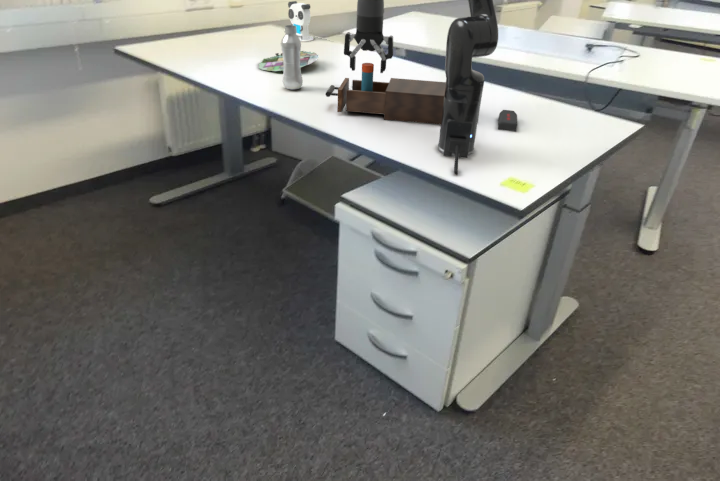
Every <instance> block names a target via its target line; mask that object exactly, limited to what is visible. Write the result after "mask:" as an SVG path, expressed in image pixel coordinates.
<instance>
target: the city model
mask: <svg viewBox="0 0 720 481" xmlns="http://www.w3.org/2000/svg"><path fill="white" fill-rule="evenodd" d="M318 59H319V54H318V53H317V52H316V51H305V50H301V52H300V68H301V69H302V68H303V67H306V66H308V65H312V64H313V63H314V62H317V60H318ZM283 61H284V60H283V54H282V52H281V53H279V52H277V53H275V55H273V56H270V57H266V58H265V57H264V58H263V59H262V60H261V62H260V63H258V70H261V71H266V72H270V71H272V72H281V71H282V72H283V71H284V63H283Z"/></svg>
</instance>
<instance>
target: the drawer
mask: <svg viewBox="0 0 720 481" xmlns="http://www.w3.org/2000/svg"><path fill="white" fill-rule="evenodd" d="M351 81H352V82H351V83H352V84H351V89H350V77H344V79H343V81H342V83H341V84H340V85H339V86H335V85H334V84H330V85H329V87H328V89H327V90H326V92H325V96H326V97H327V98H329V97H331V96H335V97H337V113H342V112H343V110H344V109H346V110H345V111H346V112H354V113H364V114H367V113H368V114H375V115H376V114H378V115H384V112H385V95H386V89H387V87H388V84H389V82H387V81H374V80H373V91H372V92H371V91H361V84H362V79H352V80H351ZM335 90H336V91H337V92H334V91H335Z"/></svg>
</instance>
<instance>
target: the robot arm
mask: <svg viewBox="0 0 720 481" xmlns="http://www.w3.org/2000/svg"><path fill="white" fill-rule="evenodd" d="M467 4H468V8H469V16H461V17H456V18H455V19H454V20H453V21H452V22H451V23H450V25H449V27H448V31H447V34H446V44H445V45H446V46H445V61H444V71H445V72H444V73H445V82H446V86H445V95H444V102H443V111H442V119H441V125H440V128H439V138H438V144H437V151H439V153H441V154H442V155H443V156H444V157H453V158H454V165H453V174H454V175H458V173H459V169H458V168H459V159H460V158H463V159H468V157H470V156H472V155H473V154H474V151H475V142H476V135H477V129H478V123H479V116H480V110H481V104H482V97H483V91H484V85H485V76H484V74H483V73H481V72H480V71H477V70H475V69H473V65H472V64H473V59H474V58H475V59H476V58H482V57H488V56H490V55H493V53H494V52H495V51H496V49H497V46H498V43H499V26H498V18H497V14H496V9H495V4H494V0H467ZM384 14H385V0H357V2H356V26H355V27H356V28H355V29H356V30H355V33H351V32H350V31H348V32H347V33H346V34H345V35H344V43H343V44H344V46H343V55H344V56H347V57H348V58H349V68H350V69H351V71H353V72H354V71H355V70H356V62H357V61H356V57H357V56H356V55H357V54H358V52H359V51H360V50H362V52H367V51H369V52H376V54H378V55H379V57H380V58H381V60H380V74H383V73H384V72H385V71H386V70H387V60H391V59H392V58H393V56H394V35H389V36H388V35H387V36H384V32H383V30H384ZM353 39H354V40H355V42H356V43H357V44H356V46H355V48H353V50H351V48H350V47H351V42H352V41H353ZM384 42H385V44H386V45H387V53H386V52H385V49H384V48H383V47H382V45H381V44H382V43H384Z"/></svg>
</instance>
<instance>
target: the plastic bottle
mask: <svg viewBox="0 0 720 481" xmlns="http://www.w3.org/2000/svg"><path fill="white" fill-rule="evenodd" d="M283 32H284V33H285V34H284V35H283V37H282V38H281V41H280V48H281V53H282V54H283V60H284V61H283V63H284V70H283V71H282V72H283V74H282V85H283V87H284V89H287V90H299V89H301V88H302V86H303V81H304V80H303V75H302V67H301V68H300V52H301V51H302V42H301V41H300V39H299V38H298V36H297V35H296V33H297V31H296V26H294V25H291V24H288V25H287V24H286V25H284V30H283Z"/></svg>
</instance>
